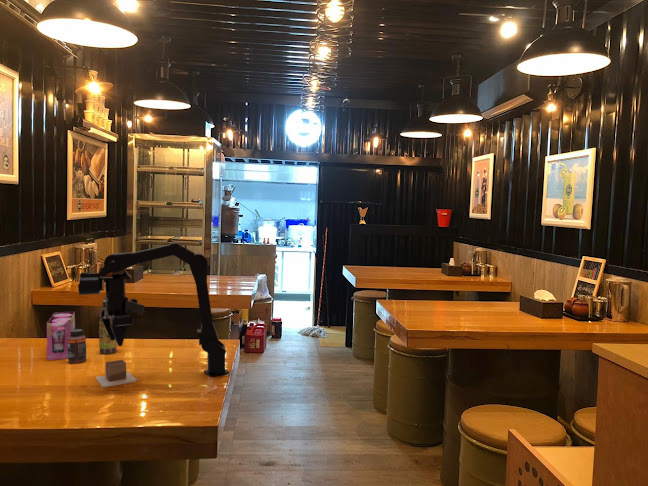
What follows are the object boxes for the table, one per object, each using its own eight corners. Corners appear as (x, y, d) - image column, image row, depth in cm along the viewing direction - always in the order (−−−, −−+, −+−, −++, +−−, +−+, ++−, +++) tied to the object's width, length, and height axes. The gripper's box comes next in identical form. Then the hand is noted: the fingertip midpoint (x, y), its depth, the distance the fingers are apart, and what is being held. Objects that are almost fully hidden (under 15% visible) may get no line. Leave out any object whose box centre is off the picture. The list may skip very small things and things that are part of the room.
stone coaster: (136, 381, 163) (136, 379, 163) (102, 387, 158) (102, 385, 158) (128, 373, 172) (128, 371, 172) (95, 379, 166) (95, 377, 166)
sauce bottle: (95, 353, 197) (94, 301, 196) (107, 349, 202) (106, 298, 201) (109, 355, 194) (108, 302, 193) (121, 351, 200) (120, 299, 199)
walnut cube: (126, 379, 164) (126, 363, 164) (109, 381, 161) (109, 365, 161) (122, 375, 168) (122, 359, 168) (105, 377, 165) (105, 362, 165)
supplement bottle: (90, 359, 188) (89, 328, 188) (80, 364, 182) (80, 332, 182) (74, 359, 189) (73, 328, 188) (64, 363, 183) (63, 331, 183)
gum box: (70, 359, 189) (69, 322, 188) (45, 361, 186) (45, 323, 185) (75, 344, 211) (75, 311, 210) (54, 346, 208) (53, 312, 207)
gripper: (150, 295, 160) (151, 345, 161) (133, 288, 176) (134, 334, 176) (112, 298, 154) (113, 350, 155) (98, 290, 169) (99, 338, 170)
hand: (116, 343), depth 164 cm, fingers open, 9 cm apart
